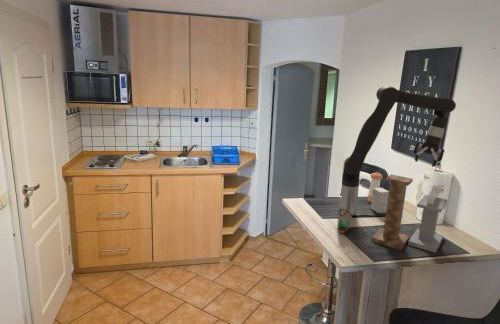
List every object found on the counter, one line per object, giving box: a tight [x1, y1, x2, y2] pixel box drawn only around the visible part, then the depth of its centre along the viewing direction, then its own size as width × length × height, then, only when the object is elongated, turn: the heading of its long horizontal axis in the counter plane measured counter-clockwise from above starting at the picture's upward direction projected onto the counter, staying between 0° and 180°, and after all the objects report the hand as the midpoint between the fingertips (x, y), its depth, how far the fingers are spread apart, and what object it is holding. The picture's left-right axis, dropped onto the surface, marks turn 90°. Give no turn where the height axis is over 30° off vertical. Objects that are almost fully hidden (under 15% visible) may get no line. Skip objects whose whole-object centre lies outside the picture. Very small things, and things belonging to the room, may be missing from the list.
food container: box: [337, 207, 353, 235], centre depth 179 cm, size 12×6×10 cm, turn 168°
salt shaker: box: [367, 171, 383, 203], centre depth 221 cm, size 7×7×19 cm
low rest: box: [407, 194, 448, 254], centre depth 168 cm, size 12×18×21 cm, turn 142°
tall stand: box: [371, 174, 414, 251], centre depth 167 cm, size 14×14×32 cm
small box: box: [370, 187, 389, 214], centre depth 206 cm, size 8×6×13 cm
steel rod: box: [427, 185, 441, 206], centre depth 170 cm, size 3×24×3 cm, turn 147°
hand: (424, 164), depth 189 cm, fingers open, 8 cm apart
